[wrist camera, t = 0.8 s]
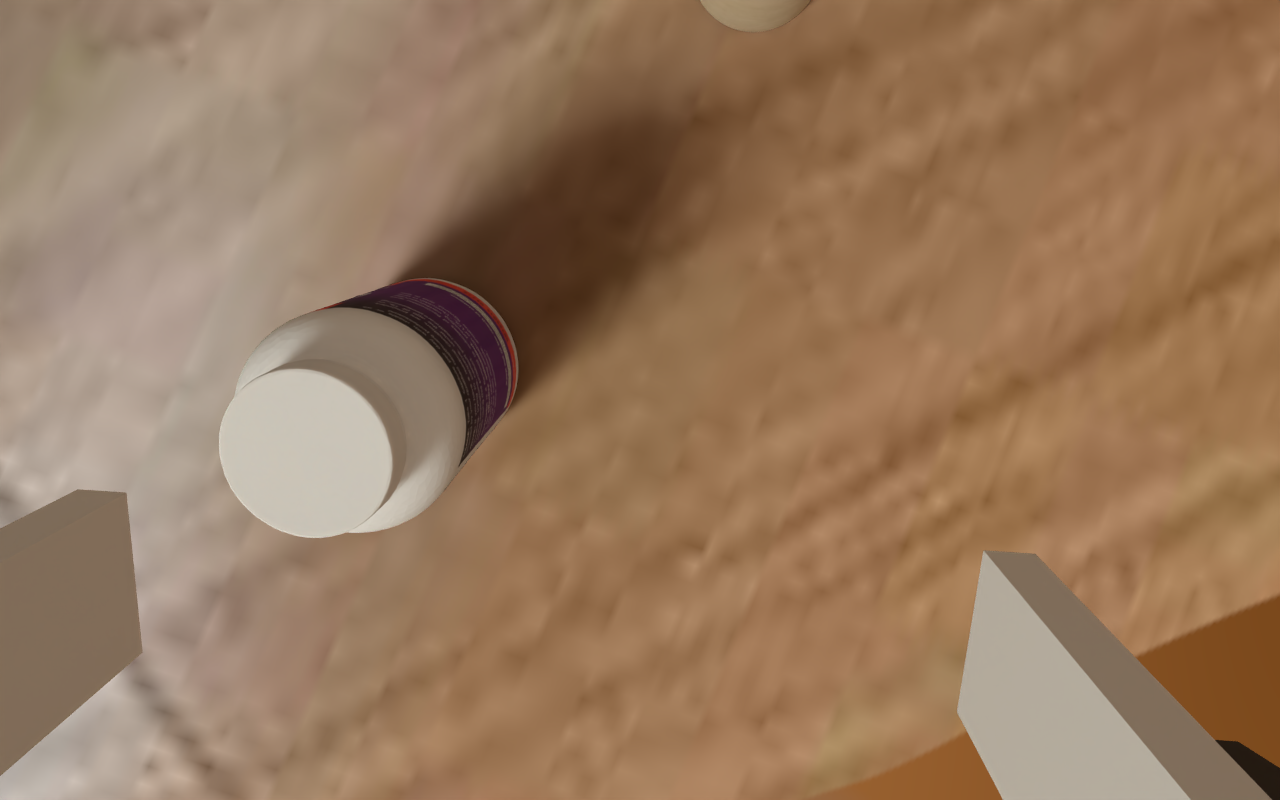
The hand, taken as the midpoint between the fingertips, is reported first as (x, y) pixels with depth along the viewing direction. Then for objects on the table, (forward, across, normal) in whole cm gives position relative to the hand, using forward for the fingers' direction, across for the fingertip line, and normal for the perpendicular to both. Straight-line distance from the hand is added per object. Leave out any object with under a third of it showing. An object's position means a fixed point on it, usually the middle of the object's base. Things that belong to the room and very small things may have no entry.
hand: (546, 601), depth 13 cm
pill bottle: (+27, -9, -2) cm, 29 cm away
